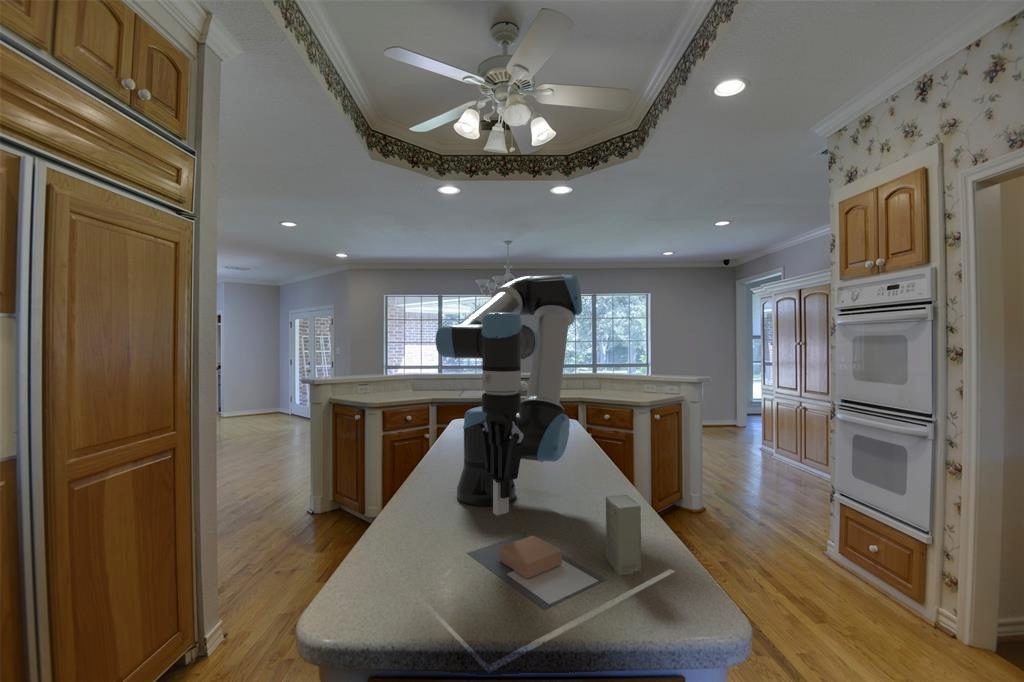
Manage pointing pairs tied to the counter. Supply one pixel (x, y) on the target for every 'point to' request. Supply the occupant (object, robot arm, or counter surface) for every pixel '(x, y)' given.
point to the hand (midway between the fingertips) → (500, 512)
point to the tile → (530, 556)
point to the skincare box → (623, 534)
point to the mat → (539, 576)
